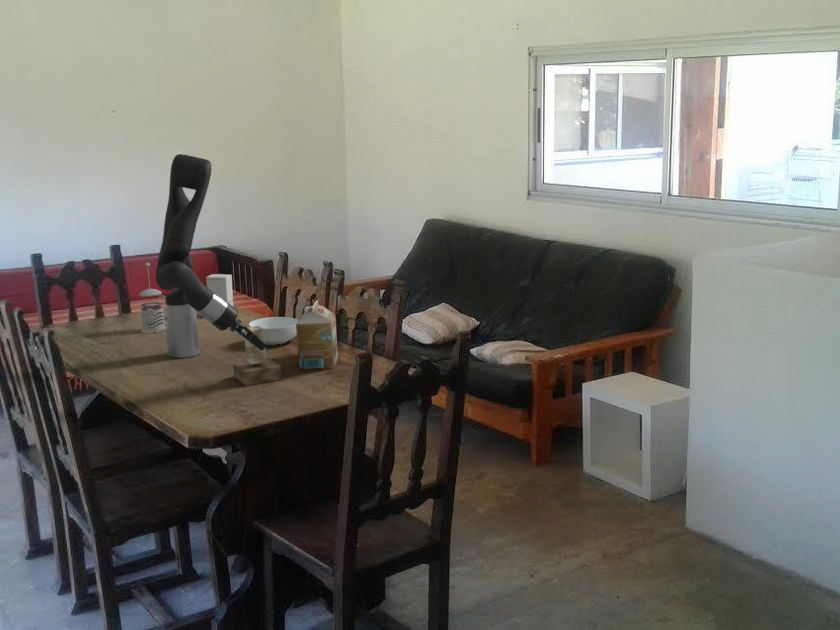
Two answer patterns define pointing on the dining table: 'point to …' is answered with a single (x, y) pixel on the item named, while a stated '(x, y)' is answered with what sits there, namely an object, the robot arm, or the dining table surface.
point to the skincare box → (221, 286)
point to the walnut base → (257, 372)
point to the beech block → (252, 351)
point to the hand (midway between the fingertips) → (261, 346)
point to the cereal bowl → (276, 329)
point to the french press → (152, 305)
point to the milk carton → (317, 338)
